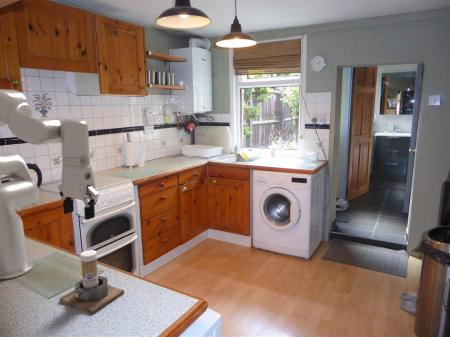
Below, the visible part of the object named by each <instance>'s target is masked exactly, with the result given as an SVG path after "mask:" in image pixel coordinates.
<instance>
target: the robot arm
mask: <svg viewBox="0 0 450 337" xmlns="http://www.w3.org/2000/svg"><path fill="white" fill-rule="evenodd" d="M5 126H7V127H8V129H9V130H10V133H11V134H12V135H13V136H14V137H16V138H18V139H19V140H22V141H24V142H25V143H28V144H30V145H35V146H41V145H51V144H59V143H60V145H61V146H60V147H61V148H60V149H61V159H62V160H61V161H62V167H61V183H60V184H59V185H58V186H57V189H58V191H59V195H60V197H61V201H62V206H63V207H62V210H63V214H65V215H68V214H70V213H74V199H75V200H78V201H82V202H83V203H84V207H83V209H84V211H83V212H84V220H86V221H88V220H91V219H94V218H95V216H96V215H95V214H96V212H95V211H96V210H95V206H96V204H97V202H98V199H99V197H100V194H99V192H98V191H97V190H96V183H95V176H94V172H93V168H92V166H91V165H90V164H91V163H90V144H89V142H90V141H89V140H90V139H89V126H88V122H87V121H85V120H82V119H69V118H63V117H56V118H55V117H52V118H51V117H50V118H49V117H48V118H47V117H46V118H44V117H43V118H35V117H33V110H32V107H31V106H30V104H29V102H28V99H27V97H26V96H25V95H24V94H23V93H22V92H20V91H19V90H15V89H3V88H2V89H0V128H2V127H5ZM7 180H9V181H7ZM3 181H6V182H3ZM0 182H3V183H0V280H9V279H14V278H16V277H17V278H18V277H19V276H20V277H21V276H23V275H25V274H27V273H28V272H30V271H31V270H32V268H33V267H34V264H33V262H32V261H30V260H28V255H27V248H26V239H25V231H24V223H23V219H22V218H21V216H20V214H18V213H17V212H16V209H18V208H23V207H24V206H29V205H31V204H33V203H35V202H36V201H38V199H39V197H40V191H39V187H38V184H37V183H36V180H35V178H34V176H33V174H32V173H31V171H30V168H29V167H28V165H27V163H26V161H25V160H24V158H22V157H21V156H20V155H19V154H17V153H14V152H3V153H2V152H1V153H0Z"/></svg>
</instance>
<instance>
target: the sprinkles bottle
mask: <svg viewBox="0 0 450 337" xmlns="http://www.w3.org/2000/svg"><path fill="white" fill-rule="evenodd" d="M97 255H98V254H97V251H96V250H93V249H89V250H85V251H82V252H81V253H80V254H79V257H80V258H79V259H80V263H81V275H82V276H81V278H82V279H81V280H83V289H84V290H89V289H95V288H97V287H99V286H98V276H99V273H98V272H99V271H98V263H97V261H98V256H97Z"/></svg>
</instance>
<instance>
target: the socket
mask: <svg viewBox="0 0 450 337" xmlns="http://www.w3.org/2000/svg"><path fill="white" fill-rule="evenodd" d="M108 285H109V282H108V277H107V276H101V275H98V286H99V287H97V288H95V289H89V290H84V289H83V279H80V280H79V281H77V282H76V283H75V286H74V290H75V298H76V301H79V302H82V303H90V302H96V301H99V300H101V299H102V298H104V297H105V296H107V295H108Z"/></svg>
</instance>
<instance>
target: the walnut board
mask: <svg viewBox="0 0 450 337" xmlns="http://www.w3.org/2000/svg"><path fill="white" fill-rule="evenodd" d="M124 294H125V289H121V288H118V287H115V286H112V285H109V284H108V295H107V296H105V297H104V298H102V299H101V300H99V301H96V302H90V303H82V302H79V301H76V298H75V289H74V290H71V291H70V292H68V293H66V294H65V295H63V296H61V297H59V302H61V303H63V304H65V305H68V306H71V307H73V308H76V309H79V310H82V311H84V312H85V313H89V314H91V315H95V314H96V313H97V312H99V311H100V310H101V309H104V308H105V307H106V306H107V305H110V303H112V302H114V301H115V300H117V299H118V298H119V297H121V296H123V295H124Z"/></svg>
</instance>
